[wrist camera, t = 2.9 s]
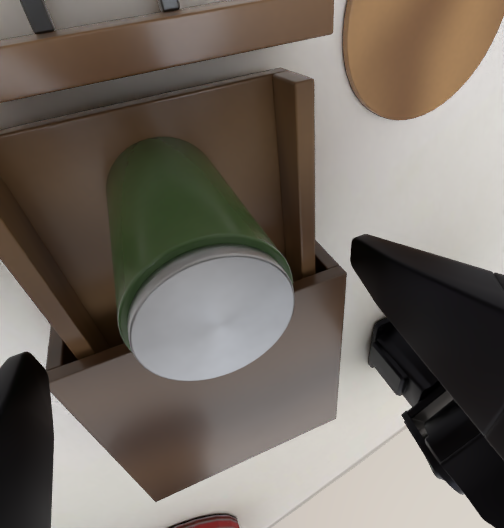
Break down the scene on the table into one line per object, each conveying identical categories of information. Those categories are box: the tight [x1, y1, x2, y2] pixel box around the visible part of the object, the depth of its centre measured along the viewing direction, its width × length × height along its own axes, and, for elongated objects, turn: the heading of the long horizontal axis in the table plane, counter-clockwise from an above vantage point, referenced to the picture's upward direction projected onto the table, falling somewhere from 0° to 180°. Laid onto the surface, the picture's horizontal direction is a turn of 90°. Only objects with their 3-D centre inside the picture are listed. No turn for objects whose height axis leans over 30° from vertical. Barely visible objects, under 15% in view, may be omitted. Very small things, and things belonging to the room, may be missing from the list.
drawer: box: [0, 0, 334, 360], centre depth 14 cm, size 18×13×3 cm
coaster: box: [343, 0, 504, 120], centre depth 16 cm, size 9×9×1 cm
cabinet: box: [46, 240, 347, 502], centre depth 22 cm, size 15×14×5 cm
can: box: [106, 137, 295, 381], centre depth 11 cm, size 5×5×8 cm
